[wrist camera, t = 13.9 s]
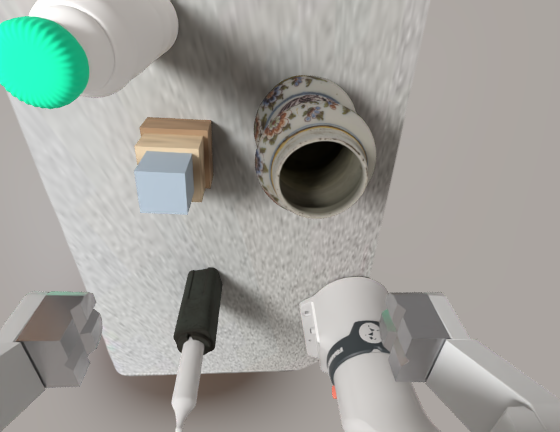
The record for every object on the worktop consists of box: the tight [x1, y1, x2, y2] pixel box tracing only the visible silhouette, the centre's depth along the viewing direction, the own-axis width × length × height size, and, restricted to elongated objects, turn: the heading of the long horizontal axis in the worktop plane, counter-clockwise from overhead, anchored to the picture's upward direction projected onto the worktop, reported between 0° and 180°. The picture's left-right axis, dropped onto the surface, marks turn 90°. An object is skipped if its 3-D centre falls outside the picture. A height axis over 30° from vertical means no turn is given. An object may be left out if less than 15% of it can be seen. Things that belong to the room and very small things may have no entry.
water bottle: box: [0, 0, 179, 109], centre depth 30 cm, size 7×7×25 cm
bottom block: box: [140, 117, 213, 188], centre depth 47 cm, size 8×8×4 cm
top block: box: [135, 133, 206, 202], centre depth 44 cm, size 7×7×4 cm
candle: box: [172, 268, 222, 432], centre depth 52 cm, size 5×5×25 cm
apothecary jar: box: [254, 76, 376, 219], centre depth 40 cm, size 12×12×18 cm
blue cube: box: [134, 151, 194, 215], centre depth 40 cm, size 5×5×5 cm
